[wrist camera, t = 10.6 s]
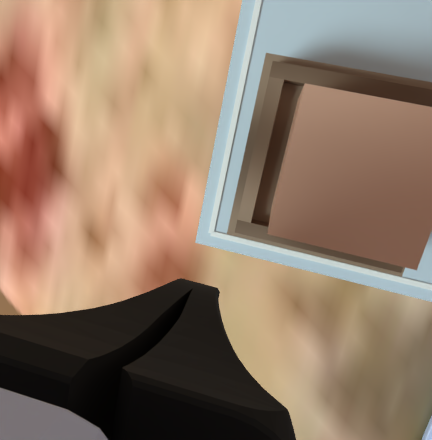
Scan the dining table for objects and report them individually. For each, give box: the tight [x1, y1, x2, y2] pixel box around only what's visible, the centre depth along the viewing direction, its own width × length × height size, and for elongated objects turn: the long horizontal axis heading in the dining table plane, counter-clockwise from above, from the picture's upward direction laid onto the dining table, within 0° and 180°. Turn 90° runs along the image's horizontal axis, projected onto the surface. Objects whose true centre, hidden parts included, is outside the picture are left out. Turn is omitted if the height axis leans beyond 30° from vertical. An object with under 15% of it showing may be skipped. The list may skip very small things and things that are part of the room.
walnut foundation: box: [227, 53, 432, 277], centre depth 17 cm, size 8×8×4 cm
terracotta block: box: [267, 83, 432, 270], centre depth 13 cm, size 5×5×5 cm
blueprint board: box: [195, 0, 432, 302], centre depth 18 cm, size 17×14×1 cm
